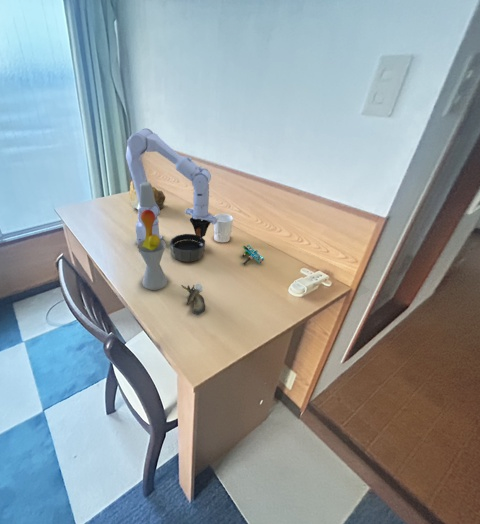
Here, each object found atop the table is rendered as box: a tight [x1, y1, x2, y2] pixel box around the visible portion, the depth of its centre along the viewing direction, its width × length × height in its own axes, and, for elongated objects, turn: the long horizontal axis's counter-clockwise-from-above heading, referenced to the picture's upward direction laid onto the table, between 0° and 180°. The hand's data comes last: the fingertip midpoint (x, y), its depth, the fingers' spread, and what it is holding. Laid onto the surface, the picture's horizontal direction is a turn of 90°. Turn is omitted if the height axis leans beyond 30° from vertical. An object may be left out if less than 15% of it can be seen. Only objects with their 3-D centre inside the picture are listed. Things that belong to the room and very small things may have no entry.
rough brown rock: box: [129, 179, 166, 210], centre depth 148 cm, size 23×17×15 cm
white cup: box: [213, 213, 234, 243], centre depth 119 cm, size 8×8×10 cm
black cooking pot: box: [169, 227, 206, 262], centre depth 110 cm, size 16×13×8 cm
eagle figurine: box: [181, 283, 206, 316], centre depth 86 cm, size 8×7×9 cm
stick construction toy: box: [241, 244, 265, 266], centre depth 106 cm, size 12×7×8 cm
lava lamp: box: [136, 181, 168, 291], centre depth 88 cm, size 9×9×35 cm
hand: (200, 234), depth 114 cm, fingers closed
